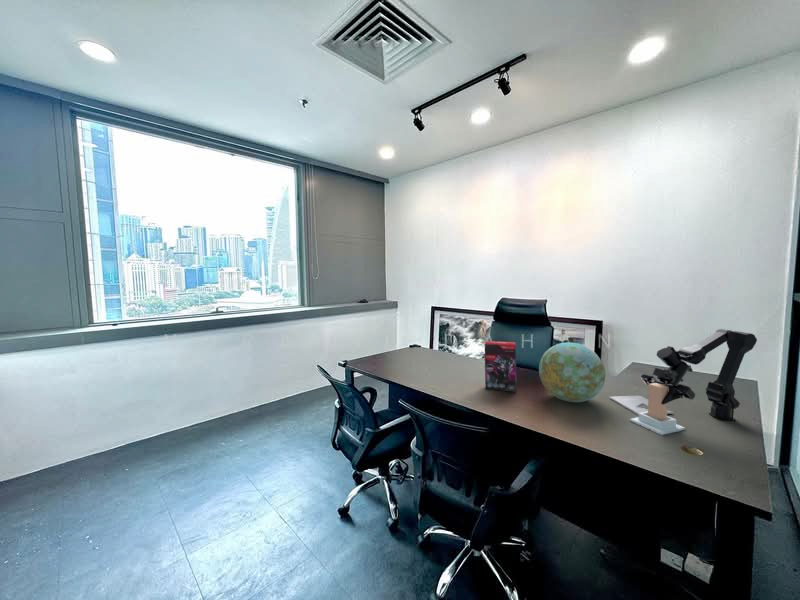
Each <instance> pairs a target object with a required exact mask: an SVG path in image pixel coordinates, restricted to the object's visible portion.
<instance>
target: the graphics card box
mask: <svg viewBox="0 0 800 600" xmlns="http://www.w3.org/2000/svg"><path fill="white" fill-rule="evenodd" d="M484 376H485V377H484V379H485V380H484V382H485V383H484V384H485V390H490V391H503V392H517V344H516V342H515V341H492V340H491V341H489V340H485V342H484Z"/></svg>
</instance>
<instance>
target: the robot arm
mask: <svg viewBox="0 0 800 600" xmlns="http://www.w3.org/2000/svg"><path fill="white" fill-rule="evenodd" d="M757 341H758V339H757V337H756V336H755V334H753V333H751V332H750V333H749V332H744V331H739V330H738V331H736V330H732V329H731V330H730V329H724V328H720V329H717V330H716V331H715V332H714V333H713V334H711V335H709V336H708V337H706V338H704V339H702V340H700V342H698V343H696V344H694V345H687V346H685V347H682V348H680V349H679V350H676V349H675V347H674V346H669V345H668V346H667V347H663V348H661V349H659V350H658V351H657V352H656V356H657V358H659V360H661V362H662V363H663V364H664V365H666V366H667V367H668V368H667V369H665V368H664V369H661V368H657V367H654V370H653V373H652V375H650V374H647V373H643V374H642V375H641V376H640V377H639V378H640V380H642V382H643V383H644V384H645V386H648V387H649V384H651V383H658V384H662V385H665V386H668V393H667V395H666V396H665V397H664V399H663V400H662V402H661V403H662V404H663V405H664V404H666V403H670V402H672V401H676V400H678V399H683V398H685V399H689V400H691V401H692V400H694V399H695V397H696V393H695V392H694V391H693V390H692V388H691V387H690V386H688V385H685V384H680V382H681V383H683V382H684V379H683V378H684V377H685V375H686V374H687V372H689V373H690V372H691V373H692V372H693V368H692V366H691V365H690V364H692V365H700V363H701V362H703V361H704V360H705V359H706V357H707V356H706V355H707V354H709V353H710V352H711V351H713V350H715V349H717V348H718V347H719V346H721V345H723V344H725V343H726V345H727V348H728V350H727V353H726V356H725V359H724V361H723V364H722V366H721V369H720V371H719V374H718V375H717V378H716V379H715V380H714V381H708V383H707V387H706V388H705V395H706V396H707V400H708V401H709V402H712V403H711V405H710V412H708V415H710V416H712V417H713V418H715V419H717V420H719V421H731V422H732V421H733V422H736V421H737V419H736V418H735V417H734V415H735V414H734V411H735V409H736V408H737V409H738V408H739V406H740V405H741V403H740V402H739V400H738V399H737V398H735V393H736V392H735V389H734V388H735V387H734V385H733V384H734V382H735V379H736V376H737V374H738V371H739V369H740V367H741V363H742V362H743V359H744V357H745V356H746V355H745V354H746V353H749V352H750V351H752V350H753V349H754V347H755V345H756V344H757ZM654 376H656V378H655V377H654ZM657 379H658V380H657Z"/></svg>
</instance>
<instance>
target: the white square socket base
mask: <svg viewBox="0 0 800 600" xmlns="http://www.w3.org/2000/svg"><path fill="white" fill-rule="evenodd" d="M629 420H630V421H629V422H632V423H634V424H637V425H639V426H640V425H641V427H643V428H645V429H648V430H649V429H650V430H649V431H652V432H654V433H656V434H658V435H660V436H664V435H668V434H672V433H676V432H681V431H684V430H686V429H685V426H682V425H680V424H677V419H676V418H674V417H671V416H670V415H667V419H663V420H658V419H656V418H653V417H651V416H648V411H647V412H642V413H639V414H638V415H637V417H634V418H633V417H632V418H630V419H629Z"/></svg>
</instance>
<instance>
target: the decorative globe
mask: <svg viewBox="0 0 800 600" xmlns="http://www.w3.org/2000/svg"><path fill="white" fill-rule="evenodd" d="M538 364H539V365H538V373H539V374H538V375H539V378H540V381H541V383H542V385H543V386H544V388H545V389H546V390H547V391H548V393H550V394H551V395H553V396H554V397H556V398H557V399H559V400H562V401H565V402H568V403H581V402H586V401H590V400H591V399H593V398H595V397H596V396H597V395H598V394H599V393H600V392H601V390H602V389H603V387H604V385H605V382H606V369H605V367H604V363H603V362H602V360H601V358H600V357H599V356H598V354H597V353H596V352H595V351H593V350H592V349H591V348H590V347H588V346H585V345H583V344H581V343H577V342H570V341H569V342H561V343H557V344H555V345H553V346H551V347H550V348H548V349H547V350H546V351H545V352H544V353H543V355H542V357H541V358H540V361H539V363H538Z"/></svg>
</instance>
